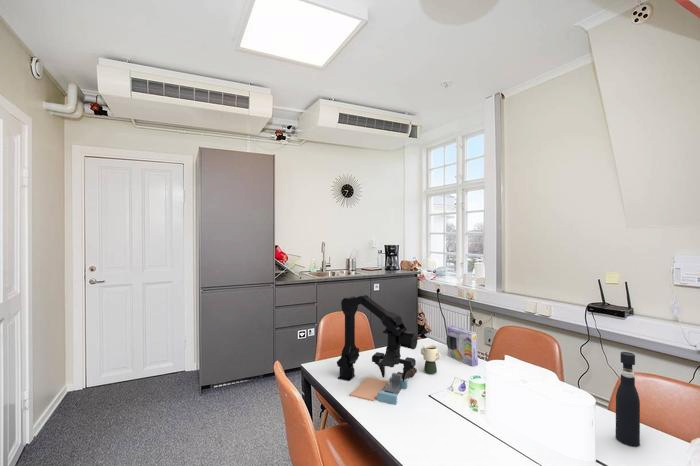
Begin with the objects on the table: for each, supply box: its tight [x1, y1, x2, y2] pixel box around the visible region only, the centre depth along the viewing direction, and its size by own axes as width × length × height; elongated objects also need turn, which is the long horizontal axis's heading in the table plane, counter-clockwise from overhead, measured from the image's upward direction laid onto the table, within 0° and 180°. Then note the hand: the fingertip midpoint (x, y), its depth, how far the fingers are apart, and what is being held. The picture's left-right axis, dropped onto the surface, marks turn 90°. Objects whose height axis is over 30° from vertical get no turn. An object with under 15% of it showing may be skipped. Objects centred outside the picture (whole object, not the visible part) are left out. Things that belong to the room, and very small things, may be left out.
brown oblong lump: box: [396, 367, 418, 380], centre depth 163 cm, size 6×5×15 cm
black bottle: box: [615, 351, 641, 448], centre depth 114 cm, size 6×6×30 cm
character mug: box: [420, 344, 441, 374], centre depth 170 cm, size 11×7×13 cm, turn 47°
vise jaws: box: [377, 376, 409, 406], centre depth 147 cm, size 8×18×4 cm, turn 154°
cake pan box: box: [445, 324, 479, 367], centre depth 187 cm, size 19×5×18 cm, turn 28°
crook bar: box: [383, 372, 403, 396], centre depth 147 cm, size 4×12×7 cm, turn 154°
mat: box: [349, 376, 390, 402], centre depth 152 cm, size 11×20×1 cm, turn 154°
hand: (393, 379), depth 148 cm, fingers open, 9 cm apart
